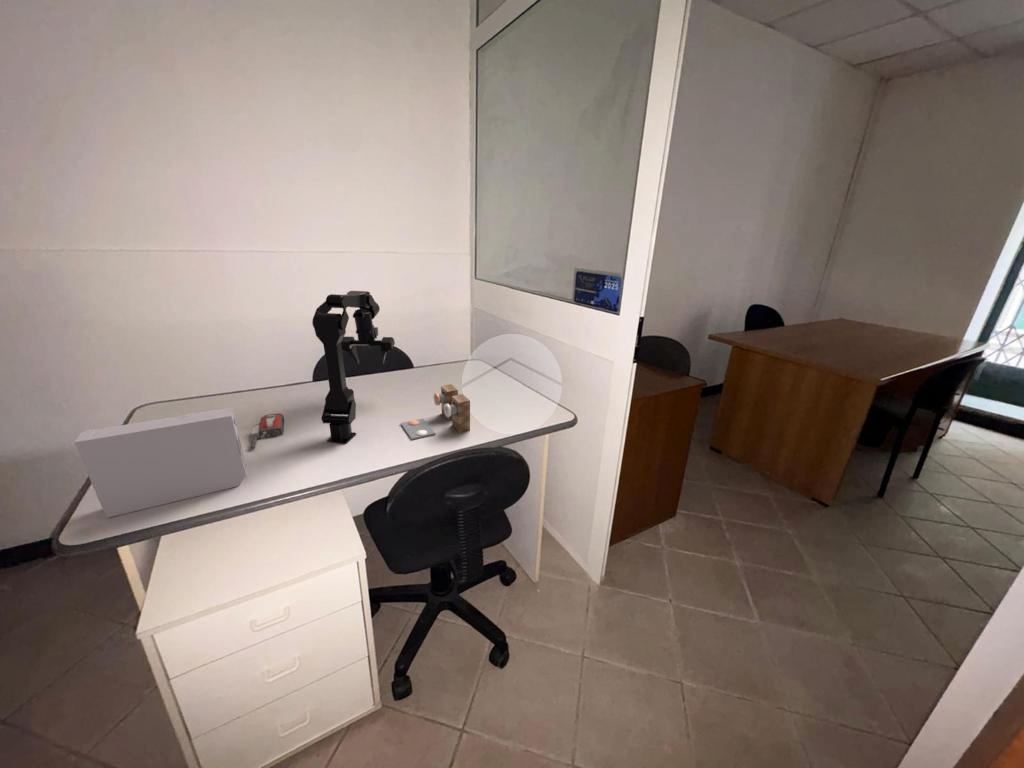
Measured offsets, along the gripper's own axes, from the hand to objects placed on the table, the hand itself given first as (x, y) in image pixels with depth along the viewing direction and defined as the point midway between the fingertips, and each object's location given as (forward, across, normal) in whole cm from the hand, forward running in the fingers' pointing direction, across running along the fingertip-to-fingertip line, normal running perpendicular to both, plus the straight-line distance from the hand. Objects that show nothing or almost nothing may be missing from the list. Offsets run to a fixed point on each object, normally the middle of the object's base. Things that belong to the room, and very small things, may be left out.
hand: (370, 363), depth 150 cm
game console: (+4, +32, +61) cm, 69 cm away
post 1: (+12, -31, +17) cm, 37 cm away
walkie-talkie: (+10, +26, +31) cm, 41 cm away
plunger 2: (+5, -34, +25) cm, 42 cm away
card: (+10, -21, +27) cm, 36 cm away
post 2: (+11, -35, +25) cm, 45 cm away
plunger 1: (+7, -29, +17) cm, 34 cm away
